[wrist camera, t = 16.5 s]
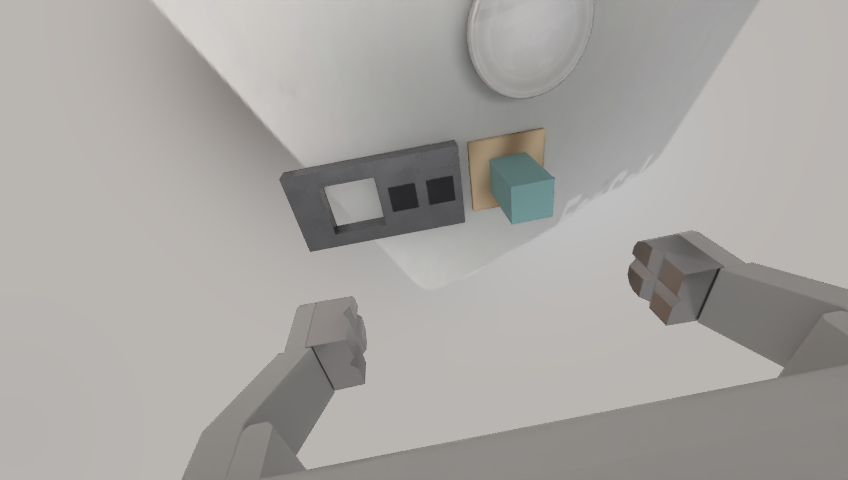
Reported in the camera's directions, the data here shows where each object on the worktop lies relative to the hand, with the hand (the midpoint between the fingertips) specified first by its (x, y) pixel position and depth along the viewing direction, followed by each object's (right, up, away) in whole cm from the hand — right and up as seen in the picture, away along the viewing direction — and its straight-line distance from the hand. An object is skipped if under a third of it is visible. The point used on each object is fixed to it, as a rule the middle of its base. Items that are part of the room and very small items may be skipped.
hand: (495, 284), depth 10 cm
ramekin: (+7, +23, +24) cm, 34 cm away
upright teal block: (+8, +10, +32) cm, 34 cm away
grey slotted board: (-8, +7, +32) cm, 33 cm away
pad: (+8, +10, +32) cm, 34 cm away
